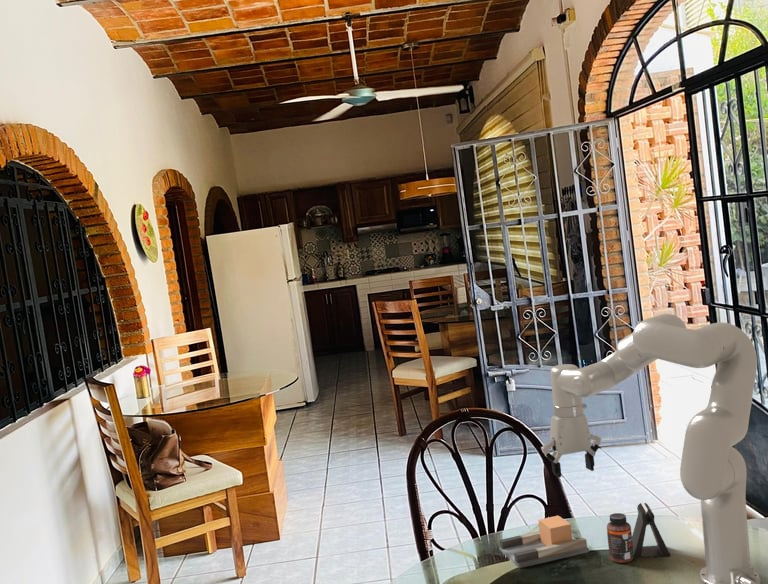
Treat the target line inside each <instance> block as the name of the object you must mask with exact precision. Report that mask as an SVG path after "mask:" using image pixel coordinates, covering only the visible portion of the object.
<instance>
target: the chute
mask: <svg viewBox="0 0 768 584" xmlns="http://www.w3.org/2000/svg"><path fill="white" fill-rule="evenodd" d="M498 549H499V551H500V552H502V553H503V555H505V556H506V558H508V559H509V560H510V561H511V562H512V563H513V564H514V565H515V566H516V567H517V568H518V569H522V568H526V567H530V566H531V567H532V566H534V565H535V566H536V565H539V564H543V563H547V562H551V561H552V562H553V561H556V560H560V559H564V558H569V557H573V556H578V555H581V554H586V553H589V552H590V549H589V547H588V543H587V538H585V537H579V538H575V537H574V536H573V535H572V540H570V541H566V542H561V543H557V544H553V545H548V546H546V545H545V544H543V543H542V542H541V541H540V531H539V530H538V531H534V532H529V533H525V534H521V535H520V534H519V535H516V536H511V537H506V538H503V539H502V538H501V539H499V545H498Z"/></svg>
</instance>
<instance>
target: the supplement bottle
mask: <svg viewBox="0 0 768 584" xmlns="http://www.w3.org/2000/svg"><path fill="white" fill-rule="evenodd" d="M606 534H607V545H608V546H607V547H608V555H609V559H610V560H611V561H613V562H614V563H618V564H627V563H630V562H632V561H633V560H634V559H635V558H634V556H633V555H634V554H633V543H632V535H633V532H632V527H631V524H630V523H629V522H627V515H626V514H624V513H618V512H615V513H611V514H609V522H608V523H607V524H606Z"/></svg>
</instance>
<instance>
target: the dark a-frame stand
mask: <svg viewBox="0 0 768 584" xmlns="http://www.w3.org/2000/svg"><path fill="white" fill-rule="evenodd" d="M644 506H645V508H646V509H647V511H646V509H645V508H644ZM644 506H643V504H642V503H639V504H637V507H636V509H637V517H636V522H635V525H634V528H633V532H632V543H633V554H634V555H633V556H634V558H633V559H646V558H647V559H648V558H665V557H667V558H668V557H671V554H670V551H669V549H668V547H667V546H666V544H665V541H664V539H663V536H662V535H661V533H660V531H659V528H658V526H657V525H656V523H655V514H654V512H653V511H652V509H651V507H650V506H649V504H648V503H646V502H644ZM647 526H649V527H650V530H651V532H652V535H653V537H654V539H655V543H656V545H647V546H644V540H645V536H646V530H647Z"/></svg>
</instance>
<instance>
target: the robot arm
mask: <svg viewBox="0 0 768 584" xmlns="http://www.w3.org/2000/svg"><path fill="white" fill-rule="evenodd" d="M656 360H661V361H665V362H669V363H673V364H676V365H680V366H683V367H684V366H685V367H689V368H694V369H705V368H710V367H712V366H714V365H716V364H717V366H716V370H715V373H714V376H713V377H712V381H711V387H710V389H711V390H710V394H709V399H708V403H707V406H706V407H705V409H703V410H701V411H698V413H696V414H695V415H694V416H692V417H691V419H690V420H689V422H688V424H687V426H686V430H685V433H684V441H683V447H682V454H681V462H680V468H679V469H680V471H679V476H680V481H681V485H682V486H683V488H684V489H685V491H686V493H688V494H689V496H691V497H693V498H694V499H697V500H700V511H701V514H700V515H701V523H702V533H703V545H704V546H703V547H704V559H705V566H704V567H702V568H701V569H700V571H699V578H700V581H701V580H702V581H703V582H704V583H706V584H761V582H762V579H761V578H760V575H759V573H757V572H756V571H755V570H754V566H753V565H752V561H751V551H750V538H749V528H748V518H747V517H748V516H747V502H746V493H747V492H746V489H747V476H748V475H747V465H746V464H747V463H746V462H745V459H744V457H743V455H742V454H741V453H740V451H738V450H737V448H735V447H734V446H735V445H737V444H738V443H740V442H741V441H742V440H743V439H744V438H745V436H746V435H747V433H748V429H749V423H750V416H751V415H750V414H751V409H752V403H753V395H754V390H755V389H754V388H755V383H756V377H757V370H758V357H757V350H756V348H755V346H754V343H753V341H752V340H751V339H750V337H749V336H748V335H747V334H746V332H744V331H743V329H741V328H740V327H738V326H736V325H734V324H731V323H729V322H714V323H710V324H708V325H704V326H702V327H699V328H697V329H691V328H687V325H686V324H685V322H684V321H683V320H682V319H681V318H680V317H678V316H677V315H675V314H671V313H662V314H659V315H655V316H652V317H649V318H646V319H643V320H642V321H640V322H639V323H638V324H637V325H635V328H634V329H633V332H630V334H628V335H626V336H625V337H623V338H621V339H620V340H619V341H618V342H617V344H616V350H615V351H614V352H612V353H611V354H609V355H607V356H606V357H605V358H603V359H601V360H600V361H598V362H595V363H592V364H589V365H586V366H583V367H581V368H580V367H578V366H577V365H575V364H571V363H567V364H563V363H562V364H557V365H554V366H553V367H552V368H550V382H551V390H552V391H551V393H552V405H553V406H552V407H553V413H554V414H553V415H552V416H551V418H550V419H551V420H550V427H549V429H550V431H549V439H550V440H549V441H547V442H546V443H545V444H543V445H542V446H541V447H540V449H541V451H542V453H543V454H544V457H546V458H547V459H548V460H549V461H551V471H552V473H553V475H554V476H556V478H561V477H562V468H561V462H559V461H560V459H561V458H562V456H564V455H565V456H567V455H571V454H576V453H581V452H586V453H585V454H584V461H585V468H586V469H587V470H590V471H591V472H593V471H595V468H594V467H595V456H596V452H597V451H598V450H599V448H600V444H601V440H602V437H600V436H597V435H594V434H592V433H591V432H590V428H589V423H588V420H587V416H586V414H585V413H584V410H585V409H587V404H586V403H583V399H582V398H590V397H592V396H595V395H597V394H598V395H599V393H602V392H605V391H607V390H611V388H614V387H615V386H617V385H619V384H620V383H621V382H624V381H626V380H627V379H629V378H630V377H632V376H633V375H634V374H636V373H637V372H640V371H641V370H642V369H644V368H645V367H647V366H649V365H650V364H652V363H653V362H655V361H656ZM591 440H593V443H592V441H591ZM550 450H551V451H552V452H550ZM702 581H701V582H702ZM703 582H702V583H703ZM704 583H703V584H704Z"/></svg>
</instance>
